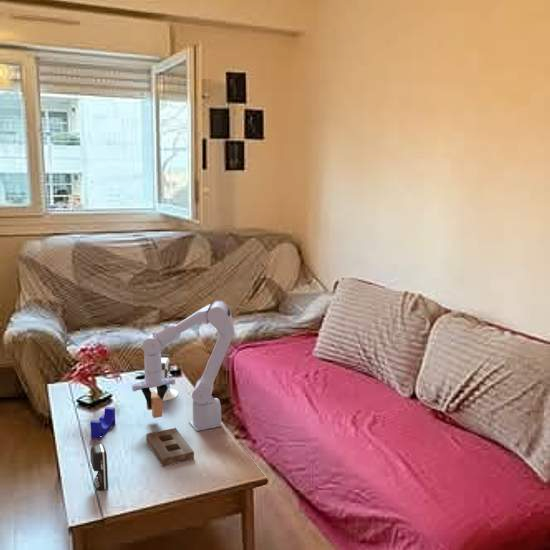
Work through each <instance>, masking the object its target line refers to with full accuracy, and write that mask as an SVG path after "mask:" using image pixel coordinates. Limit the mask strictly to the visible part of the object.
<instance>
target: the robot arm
mask: <svg viewBox="0 0 550 550" xmlns="http://www.w3.org/2000/svg"><path fill="white" fill-rule="evenodd" d="M200 323H201V324H205V325H208V324H209V323H210V325H212V326H213V328H215V329H216V331H217V333H218V337H217V340H216V342H215V344H214V347H213V350H212V352H211V354H210V357H209V358H208V361H207V364H206V366H205V369H204V370H203V373H202V376H201V377H200V378H199V379H198V380H197V381H196V382H195V386H194V390H193V391H192V394H191V396H192V397H191V398H192V419H191V420H188V423H189V424H190V425H191V426H192V428H193V429H194V430H195V431H196V432H199V431H204V430H208V429H214V428H218V427H222V426H223V424H222V405H221V402H220V399H219V398H217V397H214V396H213V395H212V393H213V390H214V386H215V385H214V382H215V380H216V378H217V376H218V373H219V371H220V368H221V365H222V363H223V360H224V358H225V357H226V354H227V351H228V349H229V347H230V345H231V342H232V340H233V339H232V338H233V337H234V335H235V334H234V333H235V326H234V322H233V317H232V310H231V309H230V307H229V305H228V304H227V302H225V301H223V300H216V301H214V302H212V304H210V303H209V304H207V305H206V306H203V307H201V309H198V310H197V311H196V312H193V314H190V315H189V316H188V317H186V318H185V319H183V320H181V321H180V322H178V323H177V324H176V323H169V324H168V323H165V324H164V325H163V328H161V329H159V330H158V331H153V332H152V333H151V334H149V335H148V336H147V337H146V338H145V340H143V343H142V345H141V349H142V351H143V353H144V357H143V360H144V361H143V363H144V380H143V381H140V382H136V383H132V384H131V390H132V391H133V392H137V391H140V390H141V392H142V394H143V396H144V398H145V401H146V406H147V405H148V408H149V409H151V391H152V390H151V389H153V388H156V389H157V394H158V395H159V397H160V398H161V399H162V400H163V397H164V395H165V393H166V391H167V387H166V385H172V386H173V385H176V379H175V378H174V377H171V378H162V363H161V354H162V350H161V348H165V347H166V346H168V345H170V344H173V343H174V342H175V341H177V340H179V339H180V338H181V334H182V333H184V332H186V331H187V330H189V329H191V328H192V327H194V326H197V325H198V324H200Z"/></svg>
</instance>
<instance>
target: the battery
mask: <svg viewBox="0 0 550 550" xmlns="http://www.w3.org/2000/svg"><path fill="white" fill-rule="evenodd" d="M89 451H90V455H89V457H90V465H91V468H92V469H93V471H94V472H97V473H96V475H95V477H94V479H93V480H94V486H95V489H96V490H98V491H102V490H103V491H105V490H108V488H109V479H108V478H109V473H108V472H109V471H108V455H107V451H106V448H105V445H104V443H103V444H97V445H93V446H91V448H90V450H89Z"/></svg>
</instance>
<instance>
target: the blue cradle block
mask: <svg viewBox="0 0 550 550" xmlns="http://www.w3.org/2000/svg"><path fill="white" fill-rule="evenodd" d="M115 424H116V407H111V406H109V407H108V406H107V407H105V408H104V414H102V415H101V416H100V417H98V420H95V419H93V420H91V421H90V424H89V425H90V438H91V439H93V438H97V439H96V440H100V439H102V437H104V435H105V434H106V433H108V432H109V431H110V430H111V428H112V427H114V426H115ZM100 436H102V437H100Z"/></svg>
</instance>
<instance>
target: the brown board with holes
mask: <svg viewBox="0 0 550 550" xmlns="http://www.w3.org/2000/svg"><path fill="white" fill-rule="evenodd" d="M145 437H146V442H148V443H147V444H148V445H150V446H149V447H150V449H151V448H152V449H151V451H152V453H153V454H154V453H155V454H154V456H155V457H156V456H157V457H156V458H157V460H158V461H160V462H159V464H160V465H161V464H162V465H161V466H162V467H167V466H171V465H175V464H174V463H176V464H179V462H180V463H183V462H188V461H187V460H189V461H192V460H191V459H193V460H195V451H194V450H193V448H192V447H191V446H190V445H189V443H188V442H187V441H186V440H185V438H184V437H183V436H182V435H181V433H180V432H179V430H178V429H177V428H176V427H173V428H170V429H163V430H159V431H158V430H157V431H153V432H149V433H146V435H145ZM170 464H171V465H170ZM166 465H167V466H166Z"/></svg>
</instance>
